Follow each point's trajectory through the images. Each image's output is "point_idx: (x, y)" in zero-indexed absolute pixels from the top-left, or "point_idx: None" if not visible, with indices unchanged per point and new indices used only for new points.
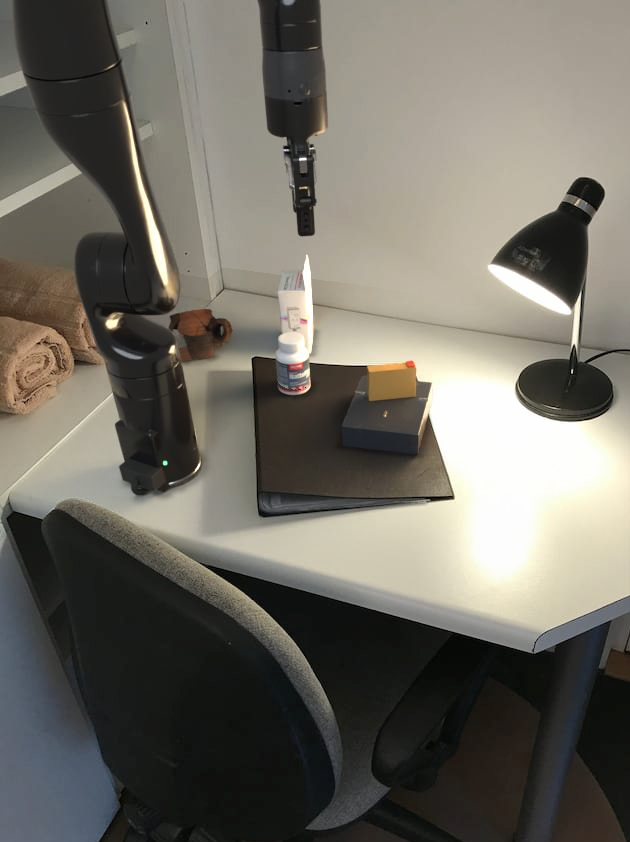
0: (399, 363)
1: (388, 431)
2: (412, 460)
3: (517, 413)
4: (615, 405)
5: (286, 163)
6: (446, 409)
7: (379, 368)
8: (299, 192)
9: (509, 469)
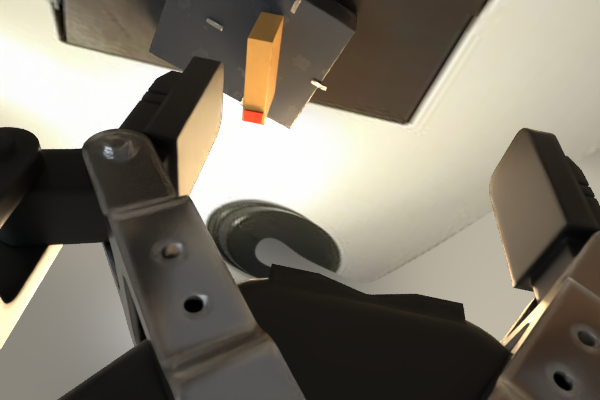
0: (264, 101)
1: (163, 9)
2: (150, 22)
3: (236, 187)
4: (227, 266)
5: (171, 370)
6: (269, 119)
7: (256, 61)
8: (532, 223)
9: None
